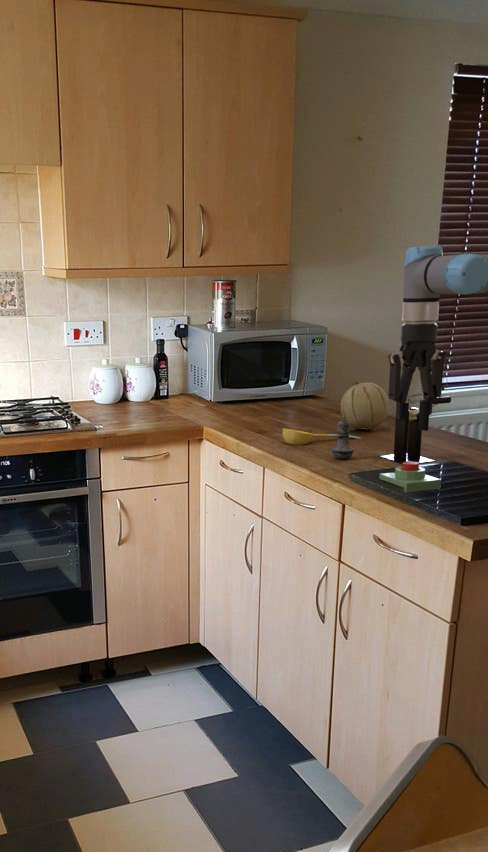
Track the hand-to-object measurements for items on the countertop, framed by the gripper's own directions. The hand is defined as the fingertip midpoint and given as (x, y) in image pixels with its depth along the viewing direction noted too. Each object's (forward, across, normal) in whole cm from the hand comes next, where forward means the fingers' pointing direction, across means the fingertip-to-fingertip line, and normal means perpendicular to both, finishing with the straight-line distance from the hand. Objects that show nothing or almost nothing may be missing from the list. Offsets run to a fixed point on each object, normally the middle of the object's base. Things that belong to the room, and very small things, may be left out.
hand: (412, 430), depth 196 cm
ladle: (+13, -9, -55) cm, 57 cm away
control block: (+13, 0, 0) cm, 13 cm away
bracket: (+13, -14, -22) cm, 29 cm away
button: (+9, 0, 0) cm, 9 cm away
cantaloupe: (+13, -32, -72) cm, 80 cm away
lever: (-1, -14, -16) cm, 21 cm away
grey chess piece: (+13, 0, -30) cm, 33 cm away
